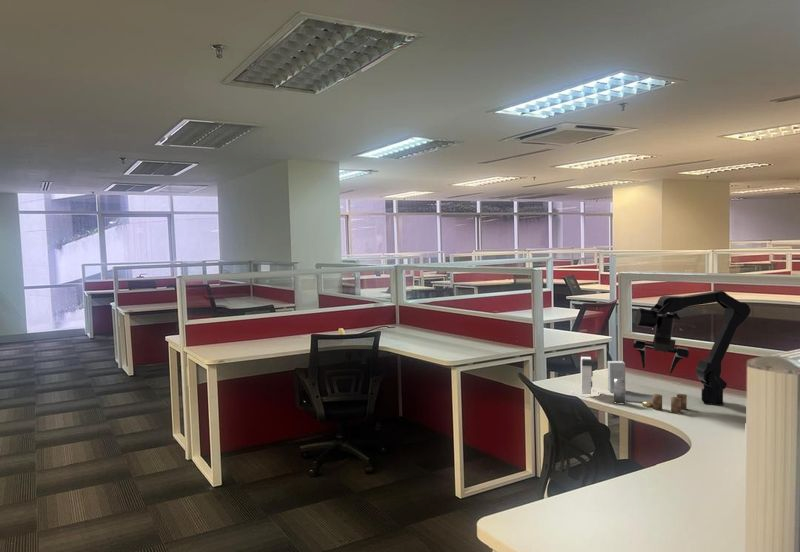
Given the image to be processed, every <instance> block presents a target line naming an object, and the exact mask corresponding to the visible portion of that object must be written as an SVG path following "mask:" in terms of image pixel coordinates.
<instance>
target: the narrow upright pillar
mask: <svg viewBox="0 0 800 552" xmlns="http://www.w3.org/2000/svg"><path fill="white" fill-rule="evenodd" d="M592 362H593V359H592V357H591V354H588V353H587V354H586V353H582V354H580V389H581V390H582V394H591V390H594V389H592V388H593V381H592V377H593V374H594V373H593V365H592ZM571 392H572V390H571V391H570V393H571ZM594 392H598V394H599V393H601V392H600V391H598V390H594Z"/></svg>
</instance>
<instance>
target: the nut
mask: <svg viewBox="0 0 800 552" xmlns="http://www.w3.org/2000/svg"><path fill="white" fill-rule="evenodd" d="M642 407H645V408H653V401H643V403H642Z"/></svg>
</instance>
